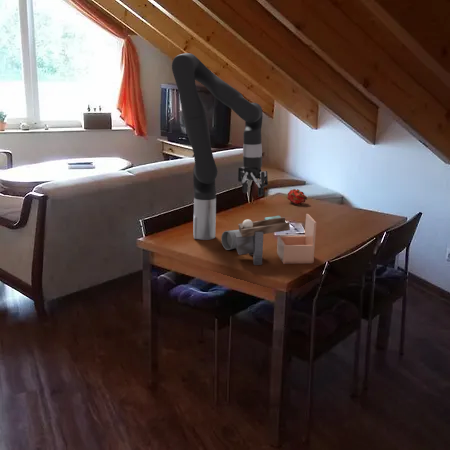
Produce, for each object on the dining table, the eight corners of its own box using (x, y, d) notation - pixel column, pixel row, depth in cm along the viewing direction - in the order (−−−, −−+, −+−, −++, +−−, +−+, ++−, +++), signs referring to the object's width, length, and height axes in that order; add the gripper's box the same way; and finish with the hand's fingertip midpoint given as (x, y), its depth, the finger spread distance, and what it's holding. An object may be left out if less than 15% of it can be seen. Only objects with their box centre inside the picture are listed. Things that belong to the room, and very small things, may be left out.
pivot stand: (254, 265, 205) (255, 232, 201) (248, 253, 217) (249, 222, 213) (262, 264, 205) (263, 232, 201) (255, 253, 217) (257, 222, 214)
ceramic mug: (248, 248, 222) (248, 230, 220) (231, 252, 218) (232, 233, 215) (232, 242, 230) (232, 224, 228) (216, 245, 226) (216, 227, 224)
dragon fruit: (286, 203, 299) (305, 211, 293) (280, 197, 292) (299, 204, 286) (293, 190, 301) (312, 197, 294) (288, 183, 294) (307, 190, 287)
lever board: (239, 255, 205) (236, 230, 202) (233, 242, 221) (230, 217, 218) (291, 247, 207) (289, 222, 204) (282, 234, 222) (280, 210, 219)
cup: (283, 263, 207) (285, 222, 202) (276, 253, 218) (278, 214, 213) (313, 263, 208) (316, 222, 203) (305, 252, 219) (308, 213, 214)
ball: (244, 232, 205) (242, 222, 204) (243, 229, 209) (240, 219, 208) (254, 229, 205) (252, 219, 204) (253, 226, 209) (250, 216, 208)
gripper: (233, 154, 221) (233, 193, 226) (259, 158, 211) (259, 199, 216) (246, 151, 226) (246, 189, 231) (272, 155, 216) (272, 195, 221)
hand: (252, 194), depth 224 cm, fingers open, 8 cm apart
